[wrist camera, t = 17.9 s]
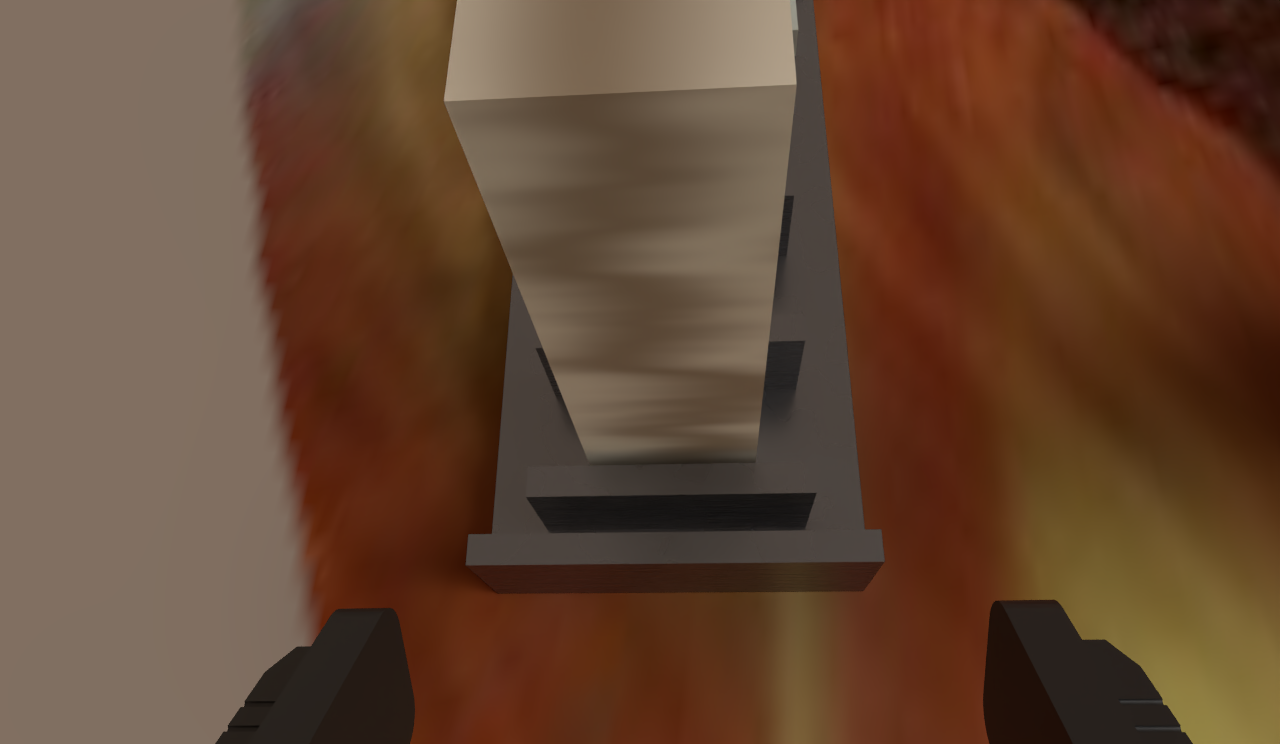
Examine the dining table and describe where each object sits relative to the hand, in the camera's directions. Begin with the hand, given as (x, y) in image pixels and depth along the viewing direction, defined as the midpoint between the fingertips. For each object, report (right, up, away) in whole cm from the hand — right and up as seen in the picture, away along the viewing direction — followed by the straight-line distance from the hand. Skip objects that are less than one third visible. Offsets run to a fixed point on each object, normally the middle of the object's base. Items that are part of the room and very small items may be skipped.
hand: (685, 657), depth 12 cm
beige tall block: (+1, +1, +20) cm, 20 cm away
